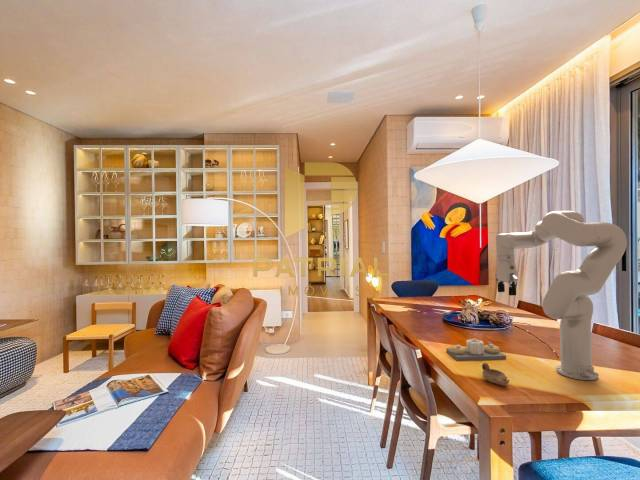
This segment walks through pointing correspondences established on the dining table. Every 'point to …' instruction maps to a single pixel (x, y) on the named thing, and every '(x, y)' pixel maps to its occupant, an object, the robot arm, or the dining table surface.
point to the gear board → (489, 354)
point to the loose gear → (475, 346)
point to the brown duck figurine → (494, 375)
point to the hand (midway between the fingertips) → (506, 293)
